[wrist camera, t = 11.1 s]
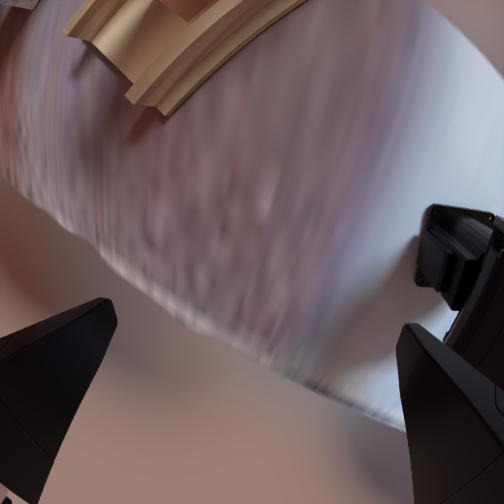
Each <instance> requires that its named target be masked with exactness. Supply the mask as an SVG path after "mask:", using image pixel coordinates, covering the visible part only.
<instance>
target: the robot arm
mask: <svg viewBox="0 0 504 504" xmlns="http://www.w3.org/2000/svg"><path fill="white" fill-rule="evenodd" d="M435 209H437V213H435V214H434V210H435ZM490 217H491V219H490V221H489V218H490ZM416 264H417V265H418V266H417V270H416V274H415V278H414V281H415V283H416V285H417V286H419V287H433V288H434V290H435V291H436V292H437V293H440V294H441V295H442V297H443V298H444V299H445V301H446V302H447V304H448V305H449V307H450V308H451V310H452V311H459V313H458V315H457V317H456V318H455V320H454V322H453V324H452V326H451V328H450V330H449V331H448V332H446V334H445V336H444V338H443V342H441V341H440V340H439V339H437V338H436V337H435V336H434V335H432V334H431V333H430V332H428V331H427V330H426V329H424V328H423V327H422V326H420V325H419V324H417V323H406V324H405V325H404V326H403V328H402V331H401V334H400V337H399V340H398V342H397V345H396V359H397V368H398V378H399V389H400V398H401V404H402V409H403V414H404V420H405V426H406V433H407V439H408V446H409V454H410V462H411V470H412V480H413V493H414V504H504V218H502V217H500V216H497V215H496V217H495V215H494V214H493V213H491V212H487V211H481V210H475V209H469V208H463V207H456V206H449V205H442V204H432V205H431V206H430V207H429V211H428V217H427V223H426V228H425V231H424V232H423V234H422V239H421V244H420V248H419V253H418V258H417V262H416ZM421 278H423V279H422V281H420V282H419V280H420V279H421ZM116 327H117V317H116V313H115V310H114V306H113V303H112V301H111V300H110V299H108V298H102V297H99V298H97V299H94V300H92V301H89V302H87V303H84V304H82V305H79V306H77V307H74V308H72V309H69V310H67V311H64V312H62V313H60V314H57V315H55V316H52V317H50V318H48V319H45V320H43V321H40V322H38V323H35V324H33V325H31V326H28V327H26V328H23V329H21V330H19V331H16V332H15V333H11V334H9V335H7V336H4V337H2V338H0V504H12V501H11V499H9V498H8V497H7V496H6V495H7V493H8V491H9V490H10V491H12V492H13V493H14V494H16V495H17V496H19V497H20V498H22V499H23V500H24V501H26V502H27V503H29V504H38V502H39V500H40V497H41V494H42V491H43V489H44V486H45V483H46V481H47V478H48V476H49V473H50V471H51V468H52V466H53V463H54V460H55V458H56V456H57V454H58V451H59V449H60V447H61V444H62V442H63V440H64V438H65V435H66V433H67V431H68V429H69V427H70V424H71V422H72V420H73V418H74V416H75V414H76V412H77V409H78V408H79V405H80V403H81V402H82V400H83V397H84V396H85V394H86V392H87V389H88V388H89V386H90V384H91V382H92V380H93V378H94V376H95V374H96V372H97V370H98V368H99V366H100V364H101V362H102V360H103V358H104V356H105V353H106V351H107V348H108V346H109V343H110V341H111V338H112V336H113V334H114V332H115V329H116Z"/></svg>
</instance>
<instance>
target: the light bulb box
mask: <svg viewBox="0 0 504 504" xmlns="http://www.w3.org/2000/svg"><path fill="white" fill-rule="evenodd" d="M38 2H39V0H0V4H4V5H10V6H15V7H21V8H26V9H30V10H33V9H34V7H35V6H36V4H37V3H38Z"/></svg>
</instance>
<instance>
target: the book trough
mask: <svg viewBox="0 0 504 504" xmlns="http://www.w3.org/2000/svg"><path fill="white" fill-rule="evenodd" d="M304 1H306V0H213V1H212V2H211V3H210V4H208V5H207V6H206V7H205V8H204V9H202V10H201V11H200V12H199V13H198V14H197V15H195V16H194V17H193V18H192V19H191V20H190V21H189V22H186V21H185V20H184V19H183V18H181V17H180V16H179V15H177V14H176V13H175V12H174V11H172V10H171V9H170V8H168V7H167V6H166V5H164V4H163V3H162V2H160V1H159V0H85V2H84V3H83V4H82V5H81V6H80V8H79V9H78V10H77V11H76V13H75V14H74V15H73V16H72V18H71V19H70V20H69V22H68V23H67V24H66V26H65V27H64V28H63V30H62V31H63V32H64V33H65V34H66V35H67V36H69V37H74V38H78V39H82V40H86V41H90V42H92V43H93V44H94V45H95V46H96V47H97V48H98V49H99V50H100V51H101V52H102V53H103V54H104V55H105V56H106V57H107V58H108V59H109V60H110V61H111V62H112V63H113V64H114V65H115V66H116V67H117V68H118V69H119V70H120V71H121V72H122V73H123V74H124V75H125V76H126V77H127V78H128V79H129V80H130V81H131V82H132V83H133V85H132V86H131V88H130V89H129V90H128V91H127V92H126V94H125V96H126V98H127V99H128V100H129V101H130V102H131V103H132V104H133V105H141V106H154V107H157V108H158V109H159V110H160V111H161V112H162V113H163V115H164V116H170V115H171V114H172V113H173V112H174V111H175V110H176V109H177V108H178V107H179V106H180V105H181V103H182V102H183V101H184V100H185V99H186V98H187V97H188V96H189V95H190V94H191V93H192V92H193V91H194V90H195V89H196V88H197V87H198V86H199V85H201V84H202V83H203V82H204V81H205V80H206V79H207V78H208V77H209V76H210V75H211V74H212V73H213V72H214V71H215V70H217V69H218V68H219V67H220V66H221V65H222V64H223V63H224V62H225V61H227V60H228V59H229V58H230V57H231V56H232V55H234V54H235V53H236V52H237V51H238V50H239V49H241V48H242V47H243V46H244V45H245V44H247V43H248V42H249V41H250V40H252V39H253V38H254V37H255V36H257V35H258V34H259V33H261V32H262V31H263V30H264V29H266V28H267V27H268V26H270V25H271V24H272V23H274V22H275V21H276V20H278V19H279V18H281V17H282V16H283V15H285V14H286V13H288V12H289V11H291V10H292V9H293V8H295V7H296V6H298V5H299V4H301V3H302V2H304Z"/></svg>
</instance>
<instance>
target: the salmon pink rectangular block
mask: <svg viewBox="0 0 504 504" xmlns="http://www.w3.org/2000/svg"><path fill="white" fill-rule="evenodd" d="M159 1H160V2H162V3H163V4H164V5H166V6H167V7H168V8H170V9H171V10H172V11H174V12H175V13H176V14H177V15H179V16H180V17H181V18H183V19H184V20H185V21H186V22H189V21H190V20H191V19H192V18H193V17H194V16H195V15H197V14H198V13H199V12H200V11H201V10H202V9H204V8H205V7H206V6H207V5H208V4H210V3H211V2H212V1H213V0H159Z"/></svg>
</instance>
